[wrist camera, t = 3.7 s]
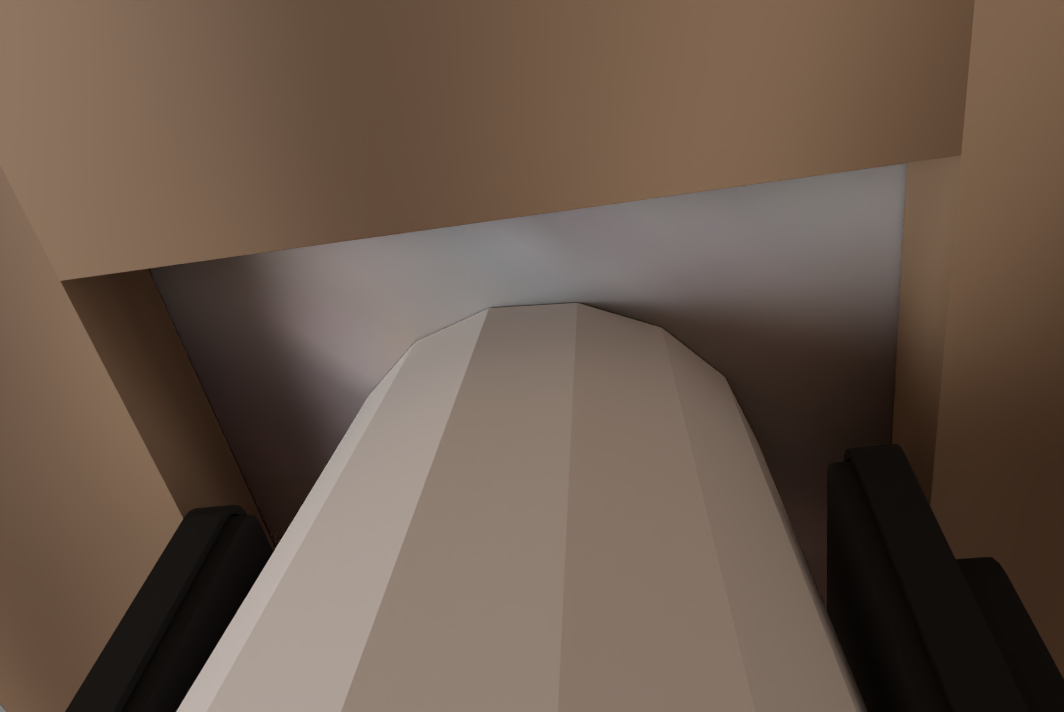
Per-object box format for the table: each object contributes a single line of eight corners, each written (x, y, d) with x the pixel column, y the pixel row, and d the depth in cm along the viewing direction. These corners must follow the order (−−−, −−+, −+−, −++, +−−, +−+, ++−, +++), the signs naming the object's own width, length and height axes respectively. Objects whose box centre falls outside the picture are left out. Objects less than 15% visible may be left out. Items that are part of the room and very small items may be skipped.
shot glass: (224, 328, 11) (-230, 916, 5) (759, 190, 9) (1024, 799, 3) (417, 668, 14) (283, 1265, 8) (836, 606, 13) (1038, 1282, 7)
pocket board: (1629, -641, 6) (1914, -773, 5) (1134, 821, 15) (1183, 913, 14) (-458, -122, 9) (-642, -115, 7) (203, 843, 18) (172, 921, 16)
